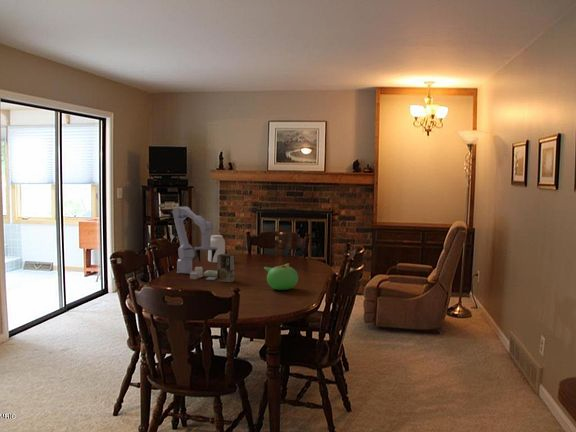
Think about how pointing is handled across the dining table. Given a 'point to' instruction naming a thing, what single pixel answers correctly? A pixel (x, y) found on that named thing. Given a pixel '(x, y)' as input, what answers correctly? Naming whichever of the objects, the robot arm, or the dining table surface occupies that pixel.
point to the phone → (211, 278)
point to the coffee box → (225, 268)
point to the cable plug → (194, 276)
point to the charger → (199, 271)
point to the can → (216, 242)
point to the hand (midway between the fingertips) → (205, 261)
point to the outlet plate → (210, 273)
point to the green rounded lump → (281, 277)
